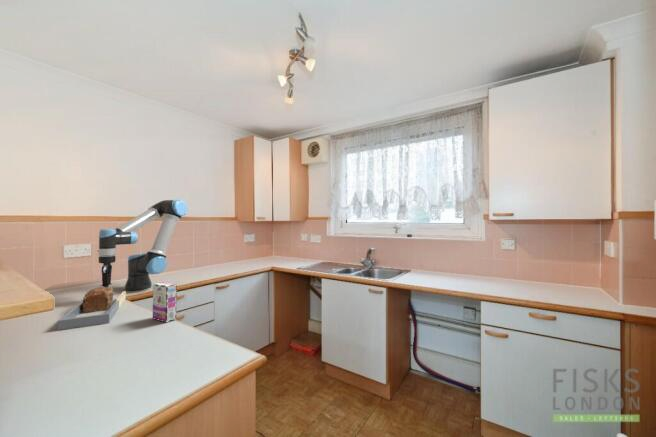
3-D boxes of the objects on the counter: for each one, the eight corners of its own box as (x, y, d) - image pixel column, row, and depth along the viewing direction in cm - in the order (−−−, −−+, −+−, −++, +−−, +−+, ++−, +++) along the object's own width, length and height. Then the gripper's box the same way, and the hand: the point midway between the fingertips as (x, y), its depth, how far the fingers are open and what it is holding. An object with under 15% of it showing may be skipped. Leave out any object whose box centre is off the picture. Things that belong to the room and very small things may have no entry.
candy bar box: (177, 319, 126) (177, 284, 126) (166, 323, 121) (166, 286, 121) (162, 315, 131) (163, 281, 131) (151, 318, 126) (152, 283, 127)
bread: (108, 310, 139) (108, 291, 139) (81, 314, 133) (81, 293, 134) (114, 301, 155) (114, 283, 155) (89, 304, 149) (90, 286, 149)
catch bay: (125, 297, 161) (125, 291, 161) (109, 322, 121) (109, 314, 121) (88, 302, 153) (88, 294, 153) (57, 330, 113) (57, 320, 113)
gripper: (101, 254, 160) (100, 295, 159) (95, 257, 148) (94, 300, 148) (117, 254, 163) (116, 293, 163) (112, 256, 152) (112, 298, 151)
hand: (106, 296), depth 155 cm, fingers closed
